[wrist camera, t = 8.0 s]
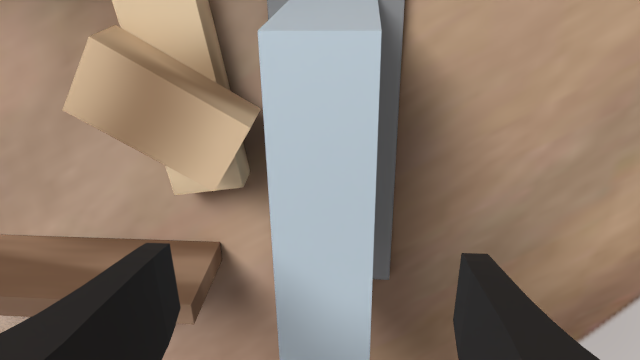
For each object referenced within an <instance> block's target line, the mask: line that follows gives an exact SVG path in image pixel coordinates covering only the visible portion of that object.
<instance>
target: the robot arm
mask: <svg viewBox="0 0 640 360" xmlns="http://www.w3.org/2000/svg"><path fill="white" fill-rule="evenodd" d="M180 309H181V307H180V301H179V295H178V289H177V283H176V277H175V271H174V266H173V260H172V254H171V248H170V243H145V244H143V245H142V246H140V247H138V248H137V249H135V250H134V251H132V252H131V253H129V254H128V255H126V256H125V257H123V258H122V259H120V260H119V261H118V262H116V263H115V264H113V265H112V266H110V267H109V268H108V269H106V270H105V271H103V272H102V273H100V274H99V275H97V276H96V277H94V278H93V279H91V280H90V281H88V282H87V283H86V284H84V285H83V286H81V287H80V288H78V289H76V290H75V291H73V292H72V293H70V294H68V295H67V296H65V297H64V298H62V299H60V300H59V301H57V302H56V303H54V304H52V305H51V306H49V307H48V308H46V309H44V310H43V311H41V312H39V313H38V314H36V315H34V316H32V317H30V318H29V319H27V320H25V321H23V322H21V323H19V324H18V325H16V326H14V327H12V328H10V329H8V330H6V331H4V332H2V333H0V360H162V358H163V356H164V353H165V351H166V349H167V347H168V345H169V342H170V340H171V337H172V334H173V331H174V328H175V325H176V322H177V318H178V315H179V312H180ZM453 322H454V330H455V338H456V345H457V352H458V358H459V360H599V359H598V358H597V357H596V356H594V355H593V354H591V353H590V352H589V351H588V350H586V349H585V348H583V347H582V346H581V345H580V344H579V343H578V342H576V341H575V340H574V339H573V338H572V337H570V336H569V335H568V334H567V333H566V332H565V331H564V330H562V329H561V328H560V327H559V326H558V325H557V324H556V323H555V322H553V321H552V320H551V319H550V318H549V317H548V316H547V315H546V314H545V313H544V312H543V311H542V310H541V309H540V308H538V307H537V306H536V305H535V304H534V303H533V302H532V301H531V300H530V299H529V298H528V297H527V296H526V295H525V293H524V292H523V291H522V290H521V289H520V288H519V287H518V286H517V285H516V284H515V283H514V282H513V281H512V280H511V279H510V278H509V277H508V275H507V274H506V273H505V272H504V271H503V270H502V269H501V268H500V267H499V266H498V265H497V264H496V262H495V261H494V260H493V259H492V258H491V257H490V256H489V255H488V254H469V253H462V255H461V263H460V271H459V278H458V286H457V294H456V302H455V310H454V318H453Z"/></svg>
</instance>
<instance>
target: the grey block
mask: <svg viewBox="0 0 640 360" xmlns="http://www.w3.org/2000/svg"><path fill="white" fill-rule="evenodd" d="M288 1H289V0H267V6H268V20H269V19H270V18H271V17H272V16H273V15H274V14H275V13H276V12H277V11H278V10H279V9H280V8H281V7H282V6H283V5H284V4H286V3H287V2H288ZM404 1H405V0H378V6H379V14H380V22H381V30H382V33H381V61H380V88H379V115H378V142H377V169H376V197H375V224H374V251H373V278H372V279H384V280H389V275H390V257H391V239H392V220H393V202H394V184H395V166H396V147H397V129H398V111H399V92H400V74H401V56H402V38H403V19H404Z"/></svg>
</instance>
